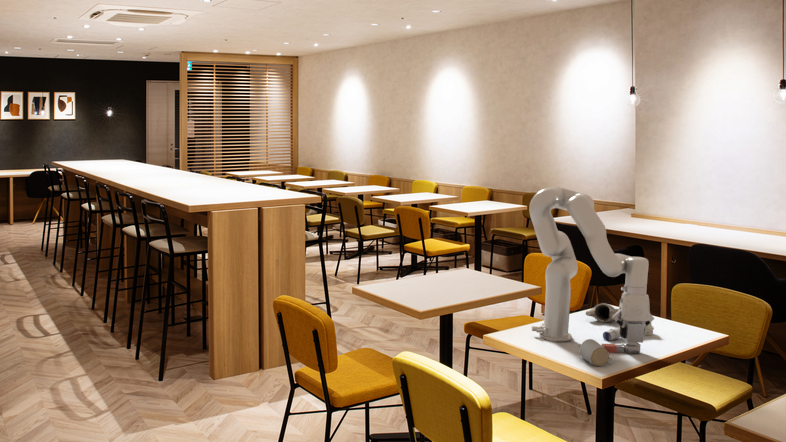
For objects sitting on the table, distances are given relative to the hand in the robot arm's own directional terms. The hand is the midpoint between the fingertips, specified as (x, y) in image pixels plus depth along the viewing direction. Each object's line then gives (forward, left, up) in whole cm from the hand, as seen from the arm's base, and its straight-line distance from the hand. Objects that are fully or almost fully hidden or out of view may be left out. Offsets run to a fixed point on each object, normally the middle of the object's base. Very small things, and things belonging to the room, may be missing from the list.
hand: (631, 336), depth 225 cm
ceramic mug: (-17, -12, -6) cm, 22 cm away
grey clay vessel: (+6, +40, -6) cm, 41 cm away
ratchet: (-4, 0, -6) cm, 7 cm away
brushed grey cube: (0, 0, -1) cm, 1 cm away
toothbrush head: (+7, +18, -6) cm, 20 cm away
